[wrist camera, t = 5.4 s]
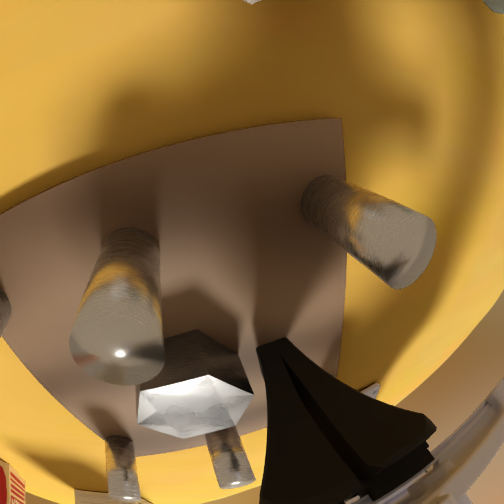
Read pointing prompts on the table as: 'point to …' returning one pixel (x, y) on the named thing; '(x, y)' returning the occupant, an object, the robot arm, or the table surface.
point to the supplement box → (100, 498)
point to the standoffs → (150, 308)
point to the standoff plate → (184, 262)
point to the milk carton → (11, 485)
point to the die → (251, 1)
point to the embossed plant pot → (495, 5)
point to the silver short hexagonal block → (194, 388)
